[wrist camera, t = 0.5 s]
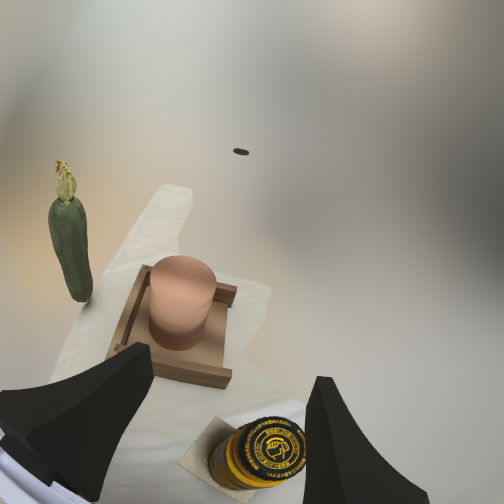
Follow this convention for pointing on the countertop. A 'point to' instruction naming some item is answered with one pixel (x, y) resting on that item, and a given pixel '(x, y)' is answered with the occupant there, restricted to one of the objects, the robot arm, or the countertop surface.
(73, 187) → the vegetable
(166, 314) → the caddy
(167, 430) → the countertop surface
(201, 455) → the condiment
